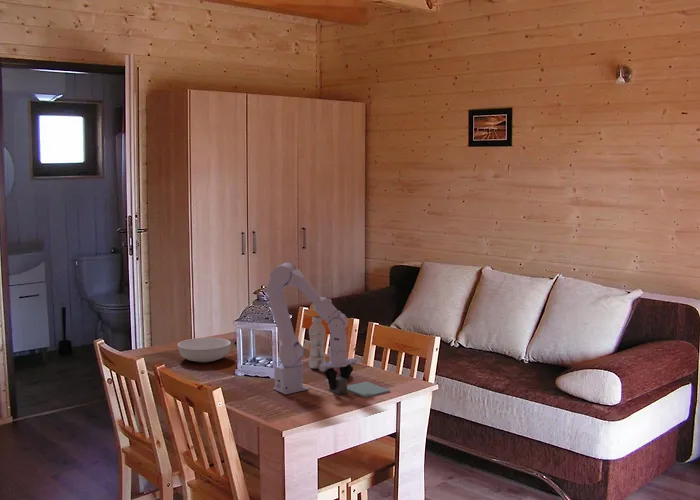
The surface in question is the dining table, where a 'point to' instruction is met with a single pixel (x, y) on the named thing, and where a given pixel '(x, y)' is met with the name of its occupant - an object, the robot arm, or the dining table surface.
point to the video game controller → (337, 371)
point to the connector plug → (339, 386)
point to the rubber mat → (366, 389)
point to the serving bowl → (204, 349)
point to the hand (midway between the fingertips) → (338, 388)
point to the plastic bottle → (316, 343)
